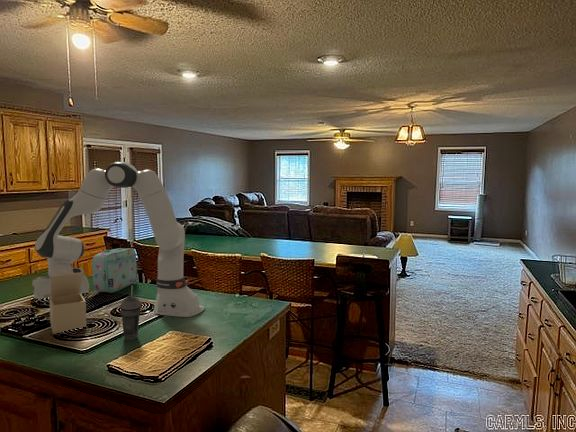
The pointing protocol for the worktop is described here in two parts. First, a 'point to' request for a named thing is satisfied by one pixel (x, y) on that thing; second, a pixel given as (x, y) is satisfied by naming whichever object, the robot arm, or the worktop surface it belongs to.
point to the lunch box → (114, 269)
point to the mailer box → (67, 312)
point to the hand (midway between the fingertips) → (63, 303)
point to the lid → (66, 284)
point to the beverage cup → (130, 316)
